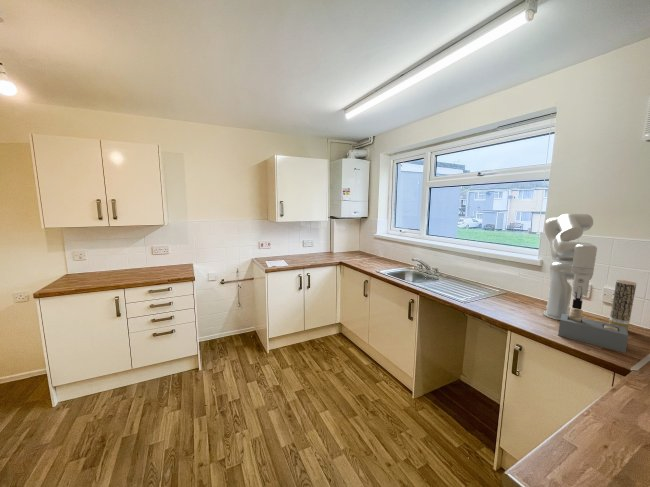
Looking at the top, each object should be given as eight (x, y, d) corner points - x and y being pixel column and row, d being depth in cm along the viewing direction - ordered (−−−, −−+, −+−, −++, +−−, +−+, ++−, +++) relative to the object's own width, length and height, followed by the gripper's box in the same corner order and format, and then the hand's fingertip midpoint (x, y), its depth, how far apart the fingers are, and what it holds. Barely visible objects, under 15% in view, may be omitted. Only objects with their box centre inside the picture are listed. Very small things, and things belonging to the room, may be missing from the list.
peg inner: (567, 323, 131) (569, 309, 130) (568, 321, 134) (570, 307, 133) (580, 326, 128) (582, 312, 127) (580, 323, 131) (582, 309, 130)
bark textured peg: (631, 332, 136) (640, 284, 132) (615, 331, 137) (624, 283, 133) (620, 326, 142) (628, 280, 139) (604, 325, 143) (612, 279, 140)
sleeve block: (558, 335, 131) (560, 319, 130) (559, 328, 139) (561, 313, 138) (625, 352, 116) (628, 335, 115) (623, 343, 124) (626, 327, 123)
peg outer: (601, 342, 123) (604, 327, 122) (601, 339, 126) (603, 324, 125) (615, 346, 120) (618, 330, 119) (614, 342, 123) (617, 327, 122)
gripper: (593, 274, 119) (587, 314, 122) (593, 269, 130) (587, 306, 132) (570, 271, 124) (565, 310, 127) (572, 267, 135) (567, 302, 138)
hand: (576, 308), depth 130 cm, fingers closed
